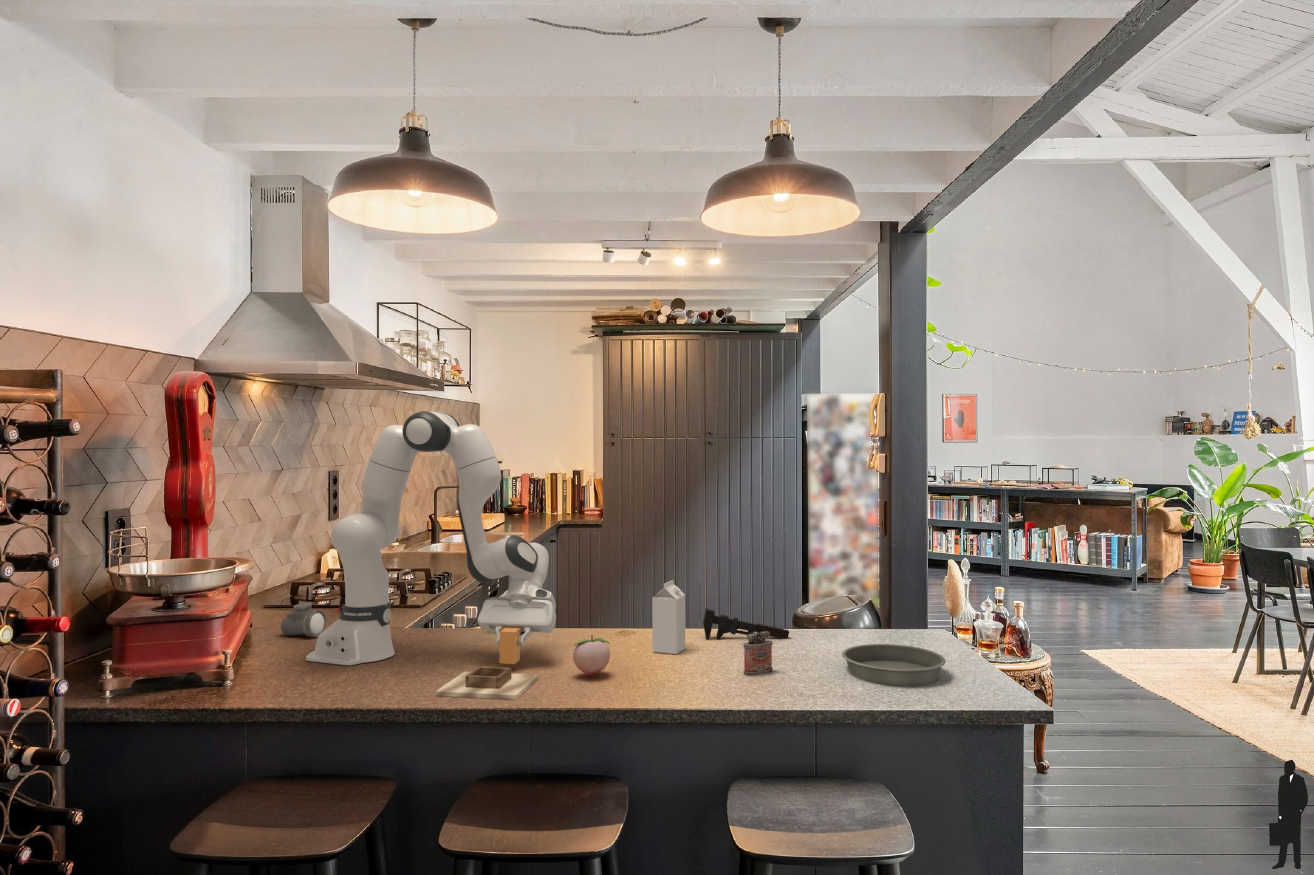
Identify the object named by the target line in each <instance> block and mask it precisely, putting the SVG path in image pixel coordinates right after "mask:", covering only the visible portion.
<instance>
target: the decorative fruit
mask: <svg viewBox="0 0 1314 875" xmlns="http://www.w3.org/2000/svg"><path fill="white" fill-rule="evenodd" d="M593 636H594V635H593V634H591V637H590V638H591V639H586V638H585V639H584V638H583V639H580V640H578V641H576V642H575V643H574V644H573V645H572V646H573V647H574V649H573V651H572V661H573V663H574V665H575V666H576V668H577V669H578V670H579V671H581V672H582V673H583V674H586V675H588V676H590V677H593V676H594V675H597V674H598V673H600V672H602V671H603V670H604V669H605V668H606V667H607V665H608V664H609V661H610V656H611V650H610V648H609V646H608V645H607V644H609V645H610V644H611V643H610V642H609V641H608V640H607V639H605V638H601V637H596V638H594V637H593ZM593 638H594V639H593Z"/></svg>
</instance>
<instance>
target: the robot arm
mask: <svg viewBox="0 0 1314 875" xmlns="http://www.w3.org/2000/svg"><path fill="white" fill-rule="evenodd" d="M442 451H443V452H445V453H447V454H448V455H449V456H450V457H451V459H452V462H453V465H454V468H455V470H456V473H457V477H458V484H459V492H458V495H457V498H456V505H457V511H458V516H459V521H460V528H461V531H462V536H463V540H464V544H465V545H464V546H465V549H466V550H465V551H466V564H467V570H468V572H469V574H470V576H471V577H472V578H473V579H474V580H476V581H477V582H479V583H480V584H487V585H488V584H490V583H492V582H494V581H496V580H499V579H501V578H504V577H506V576H509V577H510V578H511V580H510V581H511V582H510V584H509V585H508V589H507V594H506V596H497V597H496V596H491V597H490V598H486V599H485V600H484V602H483V604H482V608H481V609H480V612H479V614H478V617H477V624H478V625H479V628H480V629H481V630H483V631H488V630H496V632H497V633H496V634H497V638H496V640H495V642H496V644H497V645H498V646H500V631H501V630H503V629H504V628H520V631H521V632H525V633H522V635H520V637H519V636H518V640H517V644H518V646H520V647H521V646H522V647H524V646H525V644H526V641H527V640H528V639H529V638H530V637H531V636H532V634H533V633H543V634H545V633H546V634H550V633H552V632H553V631H554V630H555V628H556V622H557V621H556V620H557V614H556V608H557V604H556V600H555V597H554V595H553V593H552V592H551V591H550V590H546V589H543V584H544V582H545V581H546V578H547V574H548V572H549V571H548V570H549V565H550V564H549V561H550V556H549V552H548V550H547V548H546V547H545V546H544V545H542V544H540V543H538V542H529V541H527V540H526V539H525V538H523V537H522V536H519V535H516V534H515V535H510V536H507V537H504V538H501V539H499V540H497V541H494V542H493V541H492V542H491V543H488V541H487V538H486V533H485V528H484V524H483V518H482V510H483V508H484V505H485V504H486V503H487V501H488V500H489V499H490V498H491V497H492V495H493V494H495V492H496V491H497V489H498V488H499V486H500V484H501V481H502V471H501V467H500V464H499V462H498V458H497V455H496V454H495V451H494V448H493V447H492V445H491V443H490V440H489V439H488V436H487V435H486V433H485V431H484V430H483V428H482V427H481V426H479V425H477V424H473V423H470V424H467V423H466V424H463V425H460V423H459V421H458V420H457V419H456V418H455V417H454V416H452V415H451V414H449V413H445V412H441V411H437V410H429V411H426V410H425V411H424V410H423V411H418V412H415V413H413V414H411V415H410V416H409V417H407V419H405V421H404V423H403V425H400V424H390V425H388V426H386V427H384V429H383V430H382V432H380V435H379V437H378V439H377V440H376V443H375V444H374V447H373V449H372V451H371V455H370V457H369V459H368V462H367V466H366V468H365V471H364V475H363V478H362V481H361V483H360V491H361V492H362V502H361V503H362V504H361V510H360V512H359V513H358V512H357V513H354V514H353V513H352V514H348V515H347V516H345V517H343V518H341V519H340V520H339V521H337V522H336V523H335V524H334V525H333V527H332V529H331V531H330V541H331V544H332V546H333V548H334V550H336V551H337V552H338V555H339V557H340V561H341V564H342V565H341V566H342V568H343V573H344V591H345V593H344V594H345V597H344V598H345V599H344V601H345V604H343V605H342V606H340V607H338V608H336V609H335V611H336V612H335V614H339V616H338V619H337V620H336V621H334V622H333V623H332V624H330V625H329V626H328V627H326V630H324V631H323V632H322V633H321V634H320V635H319V636H318V637H317V639H316V642H315V650H313V651H311V652H309V653H308V654H307V655H306V657H305V661H308V662H316V663H322V664H323V663H324V664H333V665H341V666H353V665H358V664H364V663H372V662H377V661H381V660H386V659H388V658H391V657H393V656H395V654H396V652H395V649H394V645H393V641H392V636H391V634H392V633H391V628H390V624H391V602H390V600H389V598H390V597H389V596H390V595H389V593H390V591H389V590H390V587H389V586H390V584H389V583H390V577H389V572H388V570H387V569H386V568H385V566H384V563H383V562H384V561H383V558H382V554H381V553H382V552H381V551H382V550H384V549H386V548H388V547H390V546H391V545H392V544H393V543H394V542H395V541H397V540H398V538H399V537H400V534H401V530H402V529H401V528H402V527H401V526H402V525H401V522H400V515H401V507H402V506H401V504H402V501H403V496H404V492H405V488H406V485H407V482H408V480H409V476H410V473H411V471H412V468H413V464H414V461H415V459H416V457H417V455H418V454H420V453H421V452H422V453H438V452H442ZM521 632H520V633H521Z"/></svg>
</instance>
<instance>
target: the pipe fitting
mask: <svg viewBox="0 0 1314 875" xmlns="http://www.w3.org/2000/svg"><path fill="white" fill-rule="evenodd" d="M312 603H313V602H311V601H306V602H301V603H297V604H296V605H293V610H292V611H289V612H287V614H286V616H285V617H284V618H283V619H282V620H281V623H280V631H281V633H282V634H283V635H284V636H287V637H290V636H302V635H304V636H305V635H306V636H307V637H309V638H318V636H319V635H320V634H321V633H322V632H323V631H324V630H326V629H327V628H328V627H327V626H328V621H327V616H326V613H325V612H324V611H323V610H321V609H315V610H314V609H312V607H313V604H312Z"/></svg>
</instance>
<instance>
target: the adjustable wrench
mask: <svg viewBox="0 0 1314 875" xmlns="http://www.w3.org/2000/svg"><path fill="white" fill-rule="evenodd" d="M702 620H703V621H702V624H703V630H704V635H705V636H704V637H705V639H706V640H708V641H709V640H710V638H711V634H712V628H713V624H714V625H717V626H718V627H717V633H716V637H715V639H716V640H718V641H719V640H721V639H722V637H723V635H725V634H729V633H730V634H731V635H733V636H734V635H735V636H736V634H740V635H744V636H746V638H748V635H749V634H753V632H757V633H760V632H766V631H768V632H769V633H770V637H772V638H776V639H781V640H789V636H790V635H789V634H790V630H788V629H787V628H786V629H785V628H780V627H775V626H771V625H766V624H762V623H761V624H760V623H757V624H756V623H754V622H753V623H752V622H747V621H743V620H739V617H736V616H733V619H732V618H729V615H725V614H720V616H719V615H716V611H715V610H714V609H710V608H705V612H704V615H703V619H702Z"/></svg>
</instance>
